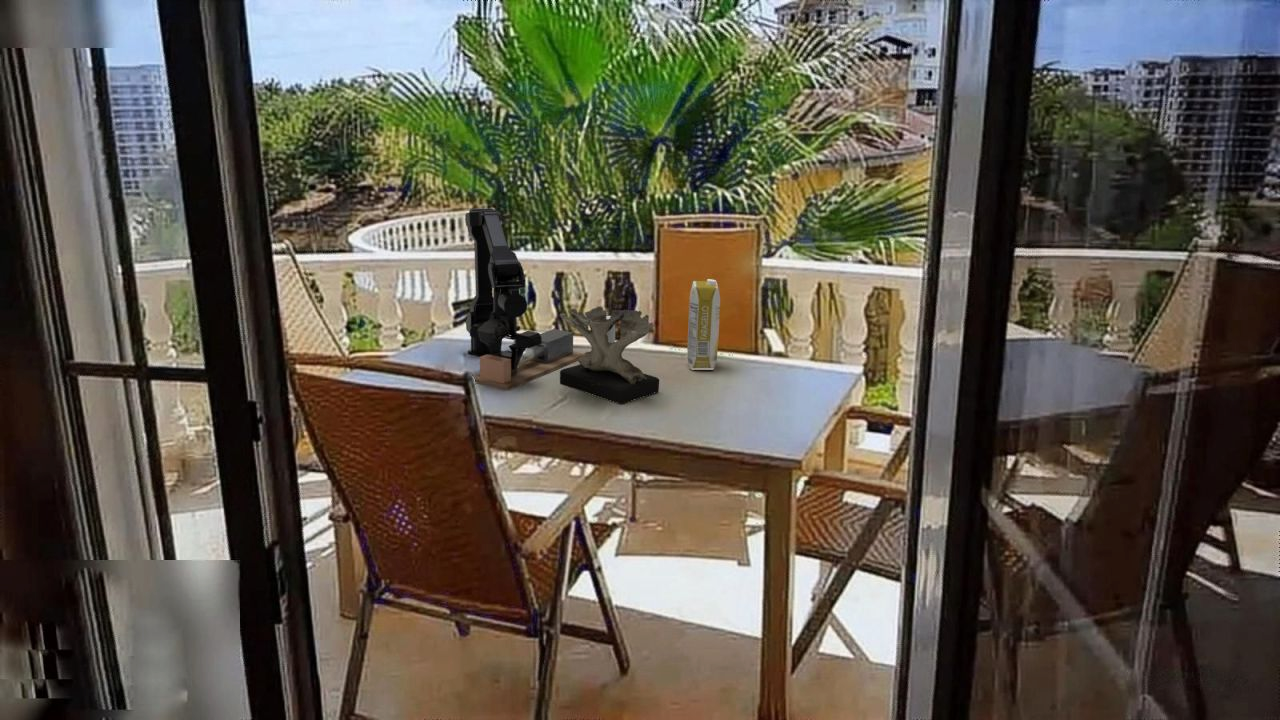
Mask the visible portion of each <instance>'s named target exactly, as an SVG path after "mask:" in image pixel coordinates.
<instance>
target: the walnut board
mask: <svg viewBox="0 0 1280 720" xmlns="http://www.w3.org/2000/svg"><path fill="white" fill-rule="evenodd" d="M584 353H585V352H584ZM584 353H583V352H577V351H574V350H573V354H571V355H569V356H566V357H564V358H562V359H559V360H557V361H554V362H552V363H549V364H544V363H539V362H535V361H528V362H526V363H523V364H521V365H518V366H517V374H515V375H513V376H511V380H510V381H508V382H506V383H500V382H496V381H491V380H487V379H483V378H480V373H478V374H475V375H473V376H474V379H475V382H477V383H476V384H478V385H483V386H487V387H490V388H495V389H499V390H505V391H510V390H513V389H515V388H516V387H519V386H521V385H523V384H526V383H528V382H530V381H533V380H536V379H538V378H540V377H542V376H545V375H547V374H550V373H552V372H554V371H556V370H559V369H561V368H564V367H566V366H568V365H571V364H574V363H576V362H578V361H577V360H578V359H579V358H580V357H581V356H583V355H584Z"/></svg>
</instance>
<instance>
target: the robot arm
mask: <svg viewBox="0 0 1280 720" xmlns="http://www.w3.org/2000/svg"><path fill="white" fill-rule="evenodd" d="M468 211H469V212H466V213H465V216H464V218H465V219H464V220H465V222H464V223H465V226H466V227H467V232H468V234H469V236H470V238H471V239H472V240H473V243H474V248H473V249H474V250H473V251H474V277H475V279H474V281H475V296H474V298H473V300H472V301H471V303H470V305H469V311H468V314H467V317H466V320H465V328H466V331H467V332H468V333H469V337H470V349H469V350H467V354H471V355H475V356H479V357H481V356H484V355H486V354H489V355H490V354H491V355H493V356H494V353H497V352H500V351H502V346H503V344H502V343H503V340H504V339H506V340H510V341H513V343H512V344H510V345H508V348H509V350H510V351H511V353H512V369H513V370H514V369H516V368H517V365H518V363H519V361H520V359H521V357H522V355H523V353H524V351H525V349H528V348H531V347H533V346H536V345H539V344H541V343H542V337H541V335H540V334H541V333H540V332H538V331H537V332H536V331H531V330H526V331H523V332H521V333H520V331H521V326H519V325H517V322H518V321H517V320H518V319H517V318H519V317H522V316H523V315H525V313H526V311H527V309H528V303H527V300H526V298H525V297H524V296H523V295H522V294H521V293H520V289H522V288H524V289H525V288H526V285H525V284H526V281H527V280H526V276H525V272H524V268H523V265H522V263H521V262H520V261H519V259H518V256H517V254H516V253H515V252H514V251H513V250H511V249H510V248H509V246H508V243H507V240H506V236H505V232H504V229H503V226H502V216H501V211H500V210H497V209H494V208H493V207H491V208H488V207H487V208H485V207H484V208H470V209H469V210H468Z"/></svg>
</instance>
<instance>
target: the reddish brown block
mask: <svg viewBox="0 0 1280 720" xmlns="http://www.w3.org/2000/svg"><path fill="white" fill-rule="evenodd" d="M479 374H480V378H483V379H487V380H491V381H496V382H500V383H506V382H508V381H510V380H511V359H507V358H503V357H498V356H493V355H489V354H486V355H484V356H479Z"/></svg>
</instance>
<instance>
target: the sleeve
mask: <svg viewBox="0 0 1280 720" xmlns="http://www.w3.org/2000/svg"><path fill="white" fill-rule="evenodd" d="M540 335H541V337H542V343H541V344H540V345H544V356H541V357H538V358H536V359H533V360H531V361H535V362H539V363H544V364H549V363H552V362H554V361H557V360H559V359H562V358H564V357H566V356H569V355H571V354H573V351H574V332H572V331H568V330H567V331H566V330H561V329H556V328H553V329H550V330H547V331H545V332H541V333H540Z"/></svg>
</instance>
